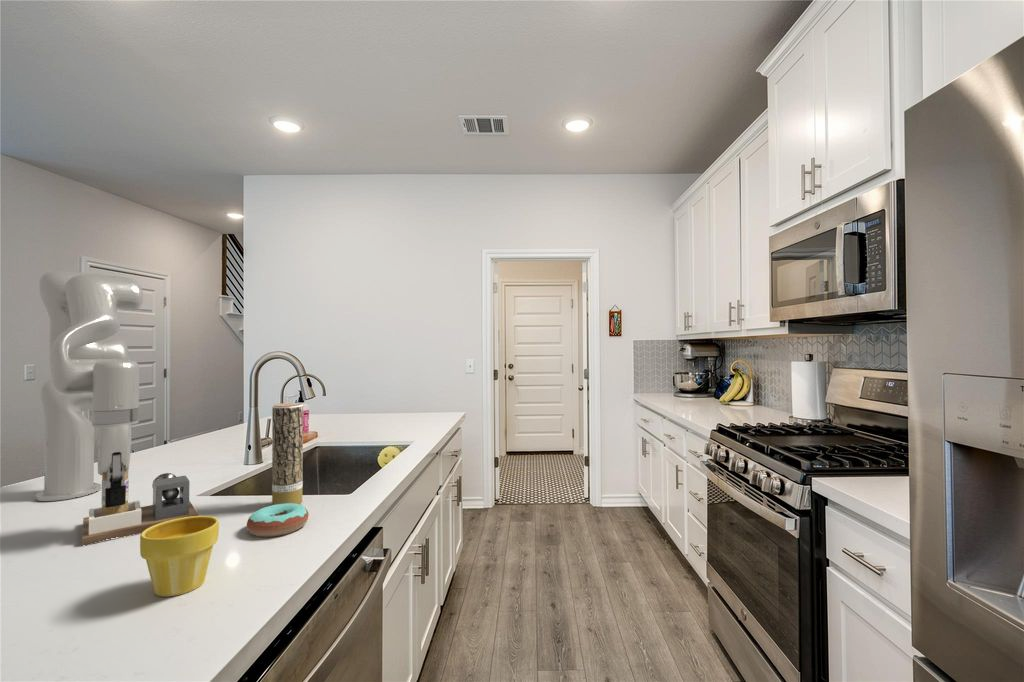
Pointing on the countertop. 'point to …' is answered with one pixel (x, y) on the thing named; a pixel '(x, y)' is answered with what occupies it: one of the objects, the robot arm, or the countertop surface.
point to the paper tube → (287, 453)
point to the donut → (277, 520)
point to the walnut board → (146, 523)
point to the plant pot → (179, 553)
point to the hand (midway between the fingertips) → (115, 501)
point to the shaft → (169, 493)
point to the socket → (114, 519)
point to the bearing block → (173, 507)
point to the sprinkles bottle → (104, 485)
